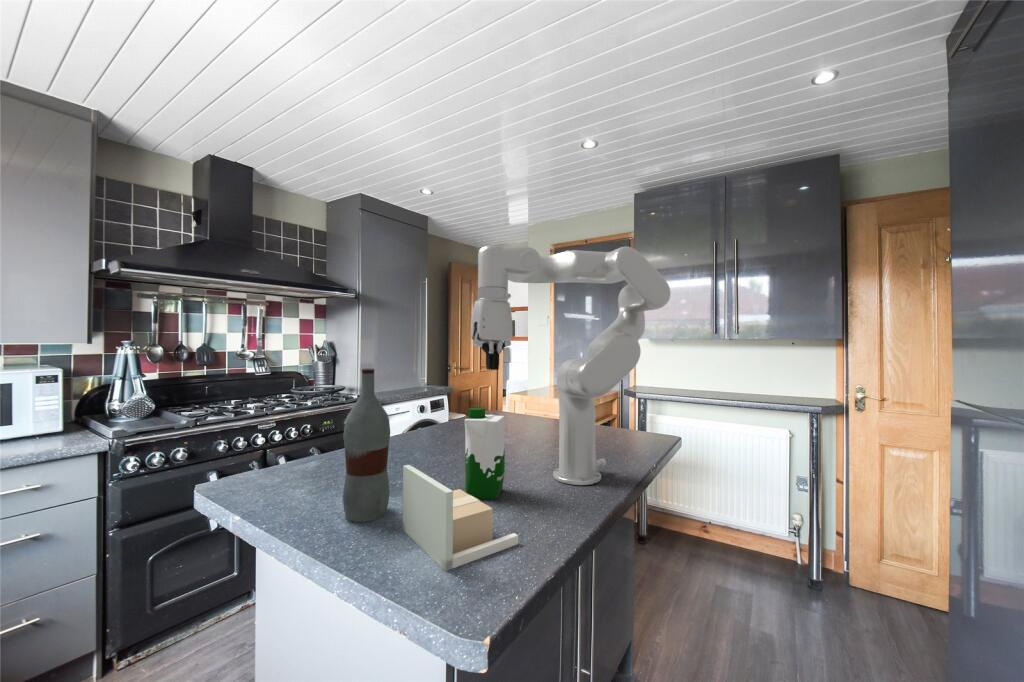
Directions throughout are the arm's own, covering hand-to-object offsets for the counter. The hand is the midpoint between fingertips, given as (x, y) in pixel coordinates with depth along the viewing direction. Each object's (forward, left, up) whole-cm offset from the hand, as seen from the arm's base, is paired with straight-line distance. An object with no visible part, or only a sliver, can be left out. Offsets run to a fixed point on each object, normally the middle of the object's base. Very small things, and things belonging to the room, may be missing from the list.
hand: (492, 369), depth 99 cm
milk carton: (+4, +3, -29) cm, 30 cm away
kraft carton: (+20, +17, -29) cm, 40 cm away
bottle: (+30, -2, -29) cm, 42 cm away
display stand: (+19, +18, -29) cm, 39 cm away
